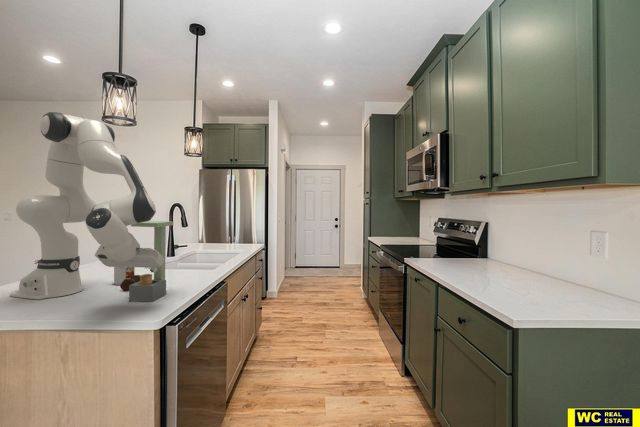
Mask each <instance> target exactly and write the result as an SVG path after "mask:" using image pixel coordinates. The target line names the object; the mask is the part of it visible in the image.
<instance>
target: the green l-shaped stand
mask: <svg viewBox="0 0 640 427" xmlns="http://www.w3.org/2000/svg"><path fill="white" fill-rule="evenodd" d="M168 226H174V221H170V220H168V221H165V220H164V221H163V220H150V221H146V222H141V223H135V224H132V225H130V227H134V228H135V227H138V228H141V227H142V228H143V227H144V228H153V230H154V231H153V232H154V235H153V238H154V239H153V246H154V247H153V249H155V250H157V251H158V252H159V253H160V254H161V255H162V257H163V258H164V262H163V264H162V266H161V267H160V268H157V271H156V272H153V280H166V242H167V241H166V238H167V237H166V234H167V233H166V232H167V230H166V229H167V228H166V227H168Z"/></svg>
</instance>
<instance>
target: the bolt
mask: <svg viewBox="0 0 640 427" xmlns="http://www.w3.org/2000/svg"><path fill="white" fill-rule="evenodd" d="M139 281H140V274H134V275H133V276H132V277H131V278H130V279H124V281H123V282H122V283H121V285H119V286H120V289H121V290H122V291H123V292H124V293H125V292H129V285H131V284H134V283H136V282H139Z"/></svg>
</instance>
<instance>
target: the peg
mask: <svg viewBox="0 0 640 427" xmlns="http://www.w3.org/2000/svg"><path fill="white" fill-rule="evenodd" d="M139 275H140V274H139ZM152 280H153V274H150V273H144V274H141V275H140V284H146V285H151V284H152Z"/></svg>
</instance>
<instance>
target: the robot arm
mask: <svg viewBox="0 0 640 427" xmlns="http://www.w3.org/2000/svg"><path fill="white" fill-rule="evenodd" d="M39 128H40V132H41V134H42V136H43V137H44V138H45V139H46V140H48V141H51V142H50V145H49V148H48V153H47V158H46V167H45V175H44V176H45V179H46V181H47V182H48V183H49V184H50V185H53V186H54V187H56V188H58V190H59V195H46V194H45V195H43V194H42V195H41V194H40V195H32V196H24V197H22V199H20V200H19V201H18V202H17V205H16V208H15V210H16V215H17V217H18V218H19V219H20V220H21V221H22V222H23V223H25V224H27V225H29V226H30V227H31V228H33V229H34V230H35V231H36V233H37V235H38V237H39V240H40V241H39V242H40V251H41V258H40V259H38V260H35V261H34V265H35V264H37V265H36V269H34V270H33V271H31V272H29V273H28V274H27V275H25V276H24V277H22V278H21V279H20V281H19V285H18V290H15V291H12V292H11V293H9V296H10V297H14V298H21V299H29V300H30V299H31V300H43V299H49V298H55V297H56V298H57V297H62V296H68V295H72V294H76V293H80V292H82V291H83V290H84V286H83V284H82V280H81V274H80V265H81V264H80V263H81V260H80V255H79V238H78V237H77V235H75V234H74V233H71V232H69V231H67V230H66V229H65V227H64V224H69V223H70V224H72V223H74V224H75V223H82V222H84V223H85V225H86V228H87V229H88V231H89V233H90V234H91V236H92V238H93V239H94V240H95V241H96V242H97V243H98V244H99V247H98V249H97V250H96V251H95V253H94V256H95V257H96V258H97V259H98V260H99V261H100V262H101V263H102V264H103V265H104V266H106V267H109V268H114V267H119V268H121V269H123V270H125V271H126V272H131V270H132V267H135V268H146V269H147V268H148V269H149V271H150V272H151V273H154V272H156V271H157V268H160V267H161V266H162V264H163V262H164V258H163V257H162V255H161V254H160V253H159V252H158V251H157V250H155V249H154V248H151V247H147V248H146V247H141V244H140V243H139V242H138V240H137V239H136V238H135V236H134V235H133V234H132V233H131V232H130V231H129V229H128V226H131V225H132V224H135V223H141V222H146V221H152V219H153V217H155V214H156V212H157V211H156V205H155V202H154V201H153V200H152V198H151V197H150V195H149V194H148V192H147V190H146V188H145V186H144V184H143V182H142V180H141V178H140V177H139V174H138V172H137V171H136V168H135V167H134V165H133V164H132V162H131V160H130V159H129V158H128V157H127V156H126V155H123V154H120V153H118V151H117V149H116V145H115V141H116V140H115V139H116V135H115V131H114V130H113V128H112V127H110V126H109V125H107V124H105V123H103V122H102V121H99V120H96V119H90V118H85V117H80V116H76V115H75V116H74V115H70V114H63V113H61V112H58V111H57V112H55V111H49V112H47V113H45V114H44V115H43V116H42V118H41V120H40V127H39ZM85 168H86V169H88V170H90V171H92V172H95V173H99V174H106V175H109V174H110V175H117V176H118V175H119V176H122V177H123V178H124V179H125V182H126V184H127V186H128V188H129V189H130V194H129V195H128V196H123V197H120V198H115V199H111V200H107V201H103V202H99V203H96V202H95V201H94V200H93V198H91V197H89V195H88V194H87V192H86V190H85V187H84V170H85Z"/></svg>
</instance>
